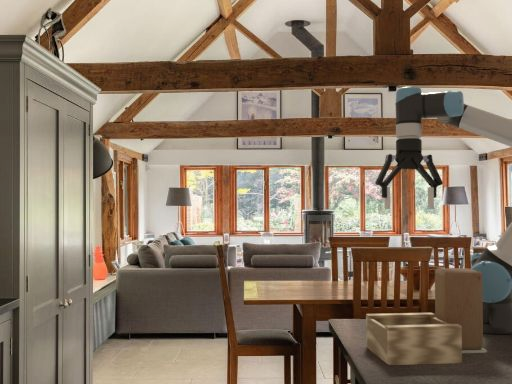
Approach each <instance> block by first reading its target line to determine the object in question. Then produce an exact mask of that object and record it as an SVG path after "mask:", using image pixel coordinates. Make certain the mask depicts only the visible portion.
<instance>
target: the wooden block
mask: <svg viewBox="0 0 512 384" xmlns="http://www.w3.org/2000/svg"><path fill="white" fill-rule="evenodd" d="M434 306H435V307H434V309H435V311H434V314H435V318H438V319H440V320H442V321H444V322H447V323H449V324H458V325H461V326H462V349H482V348H483V347H484V333H483V295H482V274H481V272H478V271H475V270H472V269H470V268H465V267H460V268H459V267H457V268H455V267H452V268H451V267H446V268H445V267H439V268H435V270H434ZM483 349H484V348H483Z"/></svg>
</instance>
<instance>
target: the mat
mask: <svg viewBox="0 0 512 384" xmlns="http://www.w3.org/2000/svg"><path fill="white" fill-rule="evenodd" d="M477 353H478V354H483V353H488V350H487V349H486V348H482V349H462V354H477Z"/></svg>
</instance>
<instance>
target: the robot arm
mask: <svg viewBox="0 0 512 384" xmlns="http://www.w3.org/2000/svg"><path fill="white" fill-rule="evenodd" d="M395 93H396V94H395V103H394V104H395V138H396V141H395V151H396V153H395V155H393V154H392V153H389V154H386V155H385V160H384V164H383V166H382V169H381V170H380V172H379V174H378V175H377V178H376V180H375V185H376V186H379V187H381V198H383V199H384V210H391V187H390V186H389V185H390V183H391V182H392V181H393V180H394V179H395V178H396V176H397V175H398V173H400V171H401V170H405V171H406V170H410V171H413V170H415V171H416V172H418V173H419V175H420V176H421V177H422V179H424V181H425V182H426V183H427V184H428V185H429V187H427V209H428V210H434V209H435V198H437V195H438V194H437V191H438V190H437V189H438V187H439V186H442V185H443V184H444V182H443V180H442V178H441V176H440V174H439V172H438V169H437V168H436V166H435V164H434V160H433V156H432V155H433V154H426V155H423V154H422V151H423V150H422V149H423V148H422V147H423V146H422V144H423V143H422V142H423V140H422V139H421V138H422V137H423V136H422V119H436V118H437V120H438V122H439V123H441V124H444V125H446V126H447V125H449V126H452V127H455V128H458V129H460V130H464V131H466V132H470V133H472V134H475V135H477V136H480V137H483V138H486V139H489V140H491V141H494V142H497V143H500V144H503V145H505V146H508V147H511V148H512V119H510V118H506V117H503V116H500V115H499V114H496V113H493V112H489V111H486V110H483V109H480V108H477V107H474V106H472V105H468V104H466V103H464V102H465V101H464V93H463V92H462V91H461V90H447V91H438V92H437V91H435V92H427V93H426V92H425V93H424V92H423V91H422V88H421V87H419V86H403V87H399V88H398V89H397V90H396V92H395ZM394 160H395V162H396V165H395V166H394V168H393V169H392V171H391V172H390V173H389V174H388V175H387V173H388V171H389V170H390V166H391V165H392V163H393V162H394ZM422 161H423V162H424V163H425V165H426V167H427V169H428V171H427V170H426V169H425V167H424V165H423V164H422ZM386 175H387V177H386ZM385 177H386V178H385ZM470 264H471V267H470V268H469V269H472V270H475V271H478V272H481V274H482V295H483V334H492V335H493V334H494V335H511V334H512V221H510V224H508V226H507V228H506V229H505V230H504V232H503V233H502V235H501V236H500V238H499V239H498V240H497V242H496V243H495V244H493V245H489V246H486V248H484V250H483V251H482V252H476V253H473V254H472V255H471V260H470Z"/></svg>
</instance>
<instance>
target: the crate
mask: <svg viewBox="0 0 512 384" xmlns="http://www.w3.org/2000/svg"><path fill="white" fill-rule="evenodd" d="M365 325H366V326H365V335H366V336H365V337H366V338H365V343H366V344H365V347H366V349H368V350H369V351H370V352H371V353H373V354H374V355H375V356H377V357H378V358H379V359H381V360H382V361H383V362H385V364H387V365H388V366H403V365H404V366H409V365H434V364H435V365H441V364H443V365H444V364H463V353H462V326H461V325H458V324H449V323H447V322H444V321H442V320H440V319H438V318H435V313H433V312H403V313H402V312H400V313H399V312H398V313H397V312H395V313H365Z"/></svg>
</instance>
